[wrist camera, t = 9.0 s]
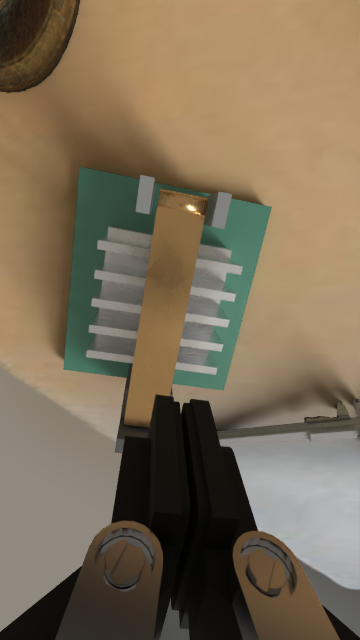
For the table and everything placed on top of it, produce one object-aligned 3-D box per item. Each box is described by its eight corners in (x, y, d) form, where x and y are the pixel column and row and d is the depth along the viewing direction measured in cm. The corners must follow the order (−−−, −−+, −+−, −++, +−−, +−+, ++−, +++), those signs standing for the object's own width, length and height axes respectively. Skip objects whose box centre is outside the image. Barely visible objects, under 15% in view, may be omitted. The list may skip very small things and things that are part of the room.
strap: (159, 189, 19) (160, 187, 18) (206, 199, 20) (209, 197, 19) (124, 416, 24) (123, 426, 23) (162, 420, 24) (163, 430, 23)
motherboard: (83, 169, 25) (43, 143, 17) (265, 207, 27) (318, 203, 18) (67, 362, 31) (31, 422, 22) (220, 382, 33) (244, 445, 24)
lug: (133, 344, 31) (121, 405, 21) (168, 349, 31) (173, 411, 21) (127, 379, 32) (114, 452, 22) (162, 383, 32) (164, 457, 23)
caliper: (355, 395, 35) (395, 432, 29) (355, 403, 35) (395, 441, 30) (181, 435, 35) (186, 480, 29) (183, 443, 36) (189, 488, 30)
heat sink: (111, 226, 26) (99, 229, 20) (226, 247, 27) (245, 256, 21) (99, 335, 29) (85, 365, 23) (203, 351, 30) (213, 382, 24)
